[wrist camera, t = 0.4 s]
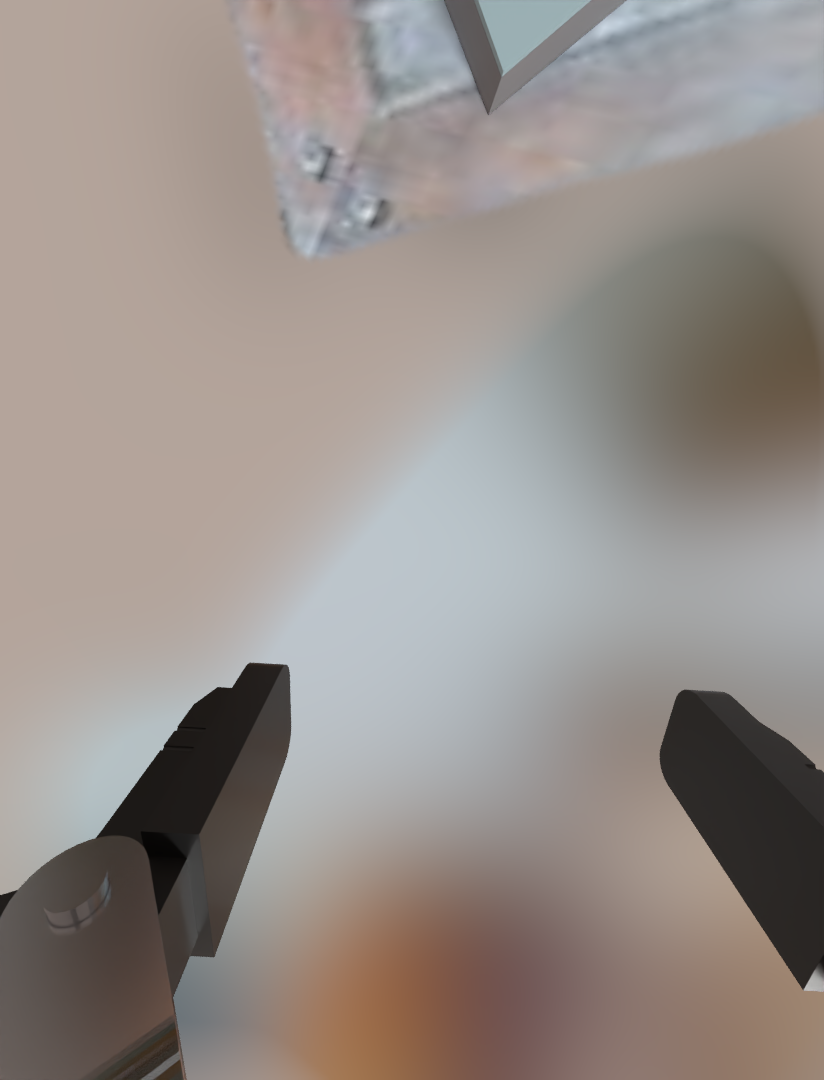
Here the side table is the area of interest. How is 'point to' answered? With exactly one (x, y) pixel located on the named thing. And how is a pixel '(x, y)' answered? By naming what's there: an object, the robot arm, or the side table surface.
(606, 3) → the storage box
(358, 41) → the side table surface
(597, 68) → the side table surface
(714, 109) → the side table surface
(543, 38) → the lid flap
